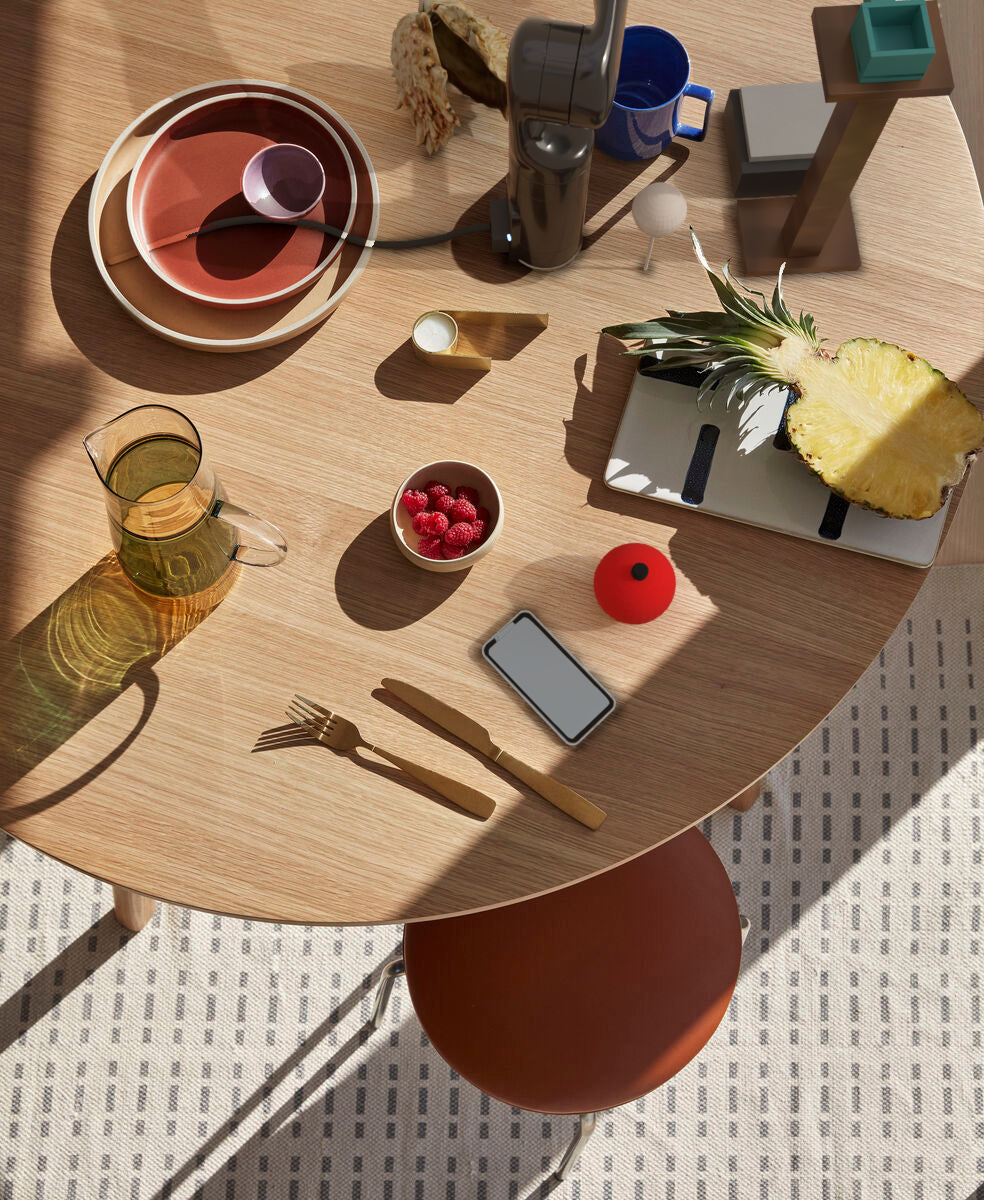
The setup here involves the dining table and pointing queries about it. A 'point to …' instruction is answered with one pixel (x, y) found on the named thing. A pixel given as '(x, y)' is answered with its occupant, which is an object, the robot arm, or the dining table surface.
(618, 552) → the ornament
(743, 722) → the dining table surface
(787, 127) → the scale
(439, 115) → the seashell
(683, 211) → the lollipop
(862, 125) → the wooden pedestal stand
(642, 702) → the dining table surface
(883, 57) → the scoop
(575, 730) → the smartphone
